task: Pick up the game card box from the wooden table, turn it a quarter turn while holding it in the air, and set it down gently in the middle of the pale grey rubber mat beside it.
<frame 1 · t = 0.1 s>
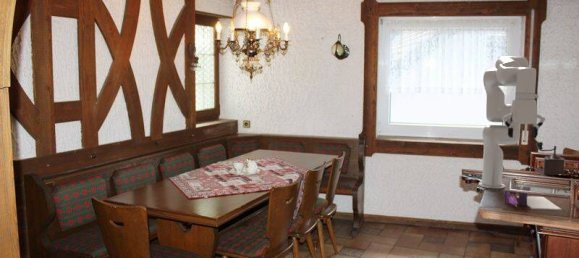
hand: (522, 137, 225), 31 cm above the table, tool pointing down, fingers open, 9 cm apart
mat: (537, 203, 239), on the table
pepper mill: (548, 173, 310), on the table
game card: (515, 206, 234), on the table
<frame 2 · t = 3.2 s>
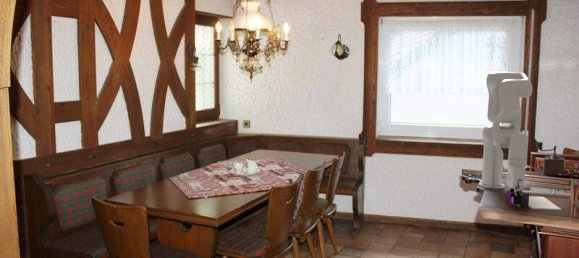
hand: (514, 201, 233), 2 cm above the table, tool pointing down, fingers open, 6 cm apart
game card: (517, 206, 233), on the table, touching gripper
everything else where it was.
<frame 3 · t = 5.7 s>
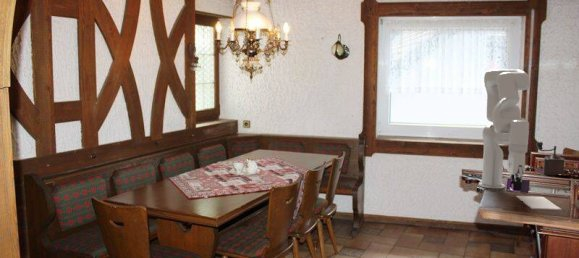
hand: (515, 188, 233), 8 cm above the table, tool pointing down, fingers closed on game card, 4 cm apart
game card: (517, 193, 233), point 5 cm above the table, touching gripper
everything else where it was.
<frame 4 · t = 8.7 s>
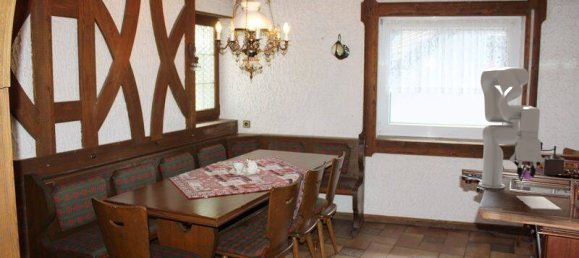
hand: (525, 175, 234), 13 cm above the table, tool pointing down, fingers closed on game card, 4 cm apart
game card: (525, 180, 236), point 11 cm above the table, touching gripper
everything else where it was.
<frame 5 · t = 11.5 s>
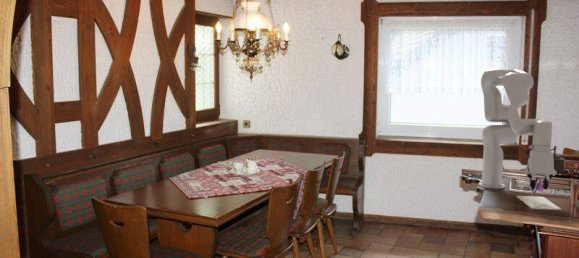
hand: (538, 188, 238), 7 cm above the table, tool pointing down, fingers closed on game card, 4 cm apart
game card: (537, 192, 239), point 5 cm above the table, touching gripper
everything else where it was.
when the fingers open (3 cm above the table, at t = 13.6 s): game card stays where it is, resting on mat.
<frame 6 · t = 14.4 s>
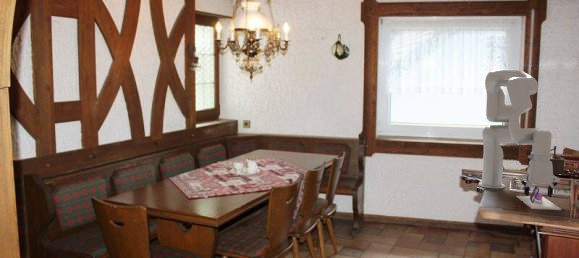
hand: (538, 195, 238), 3 cm above the table, tool pointing down, fingers open, 9 cm apart
game card: (536, 201, 240), resting on mat
everything else where it was.
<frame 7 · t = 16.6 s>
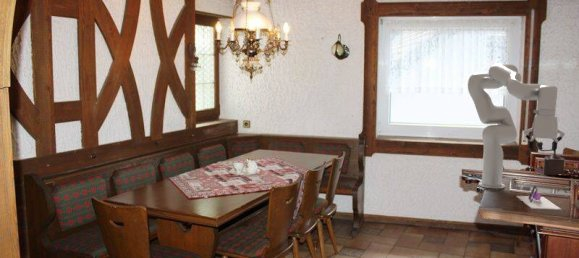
hand: (542, 150, 241), 23 cm above the table, tool pointing down, fingers open, 9 cm apart
nothing on the table moved.
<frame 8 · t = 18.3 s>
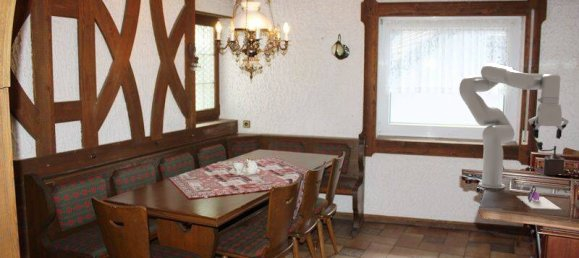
hand: (547, 138, 246), 28 cm above the table, tool pointing down, fingers open, 9 cm apart
at the end: game card inside the target area on the mat (2.7 cm from its centre), point 0.3 cm above the mat's base; game card touching mat; the gripper is holding nothing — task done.
